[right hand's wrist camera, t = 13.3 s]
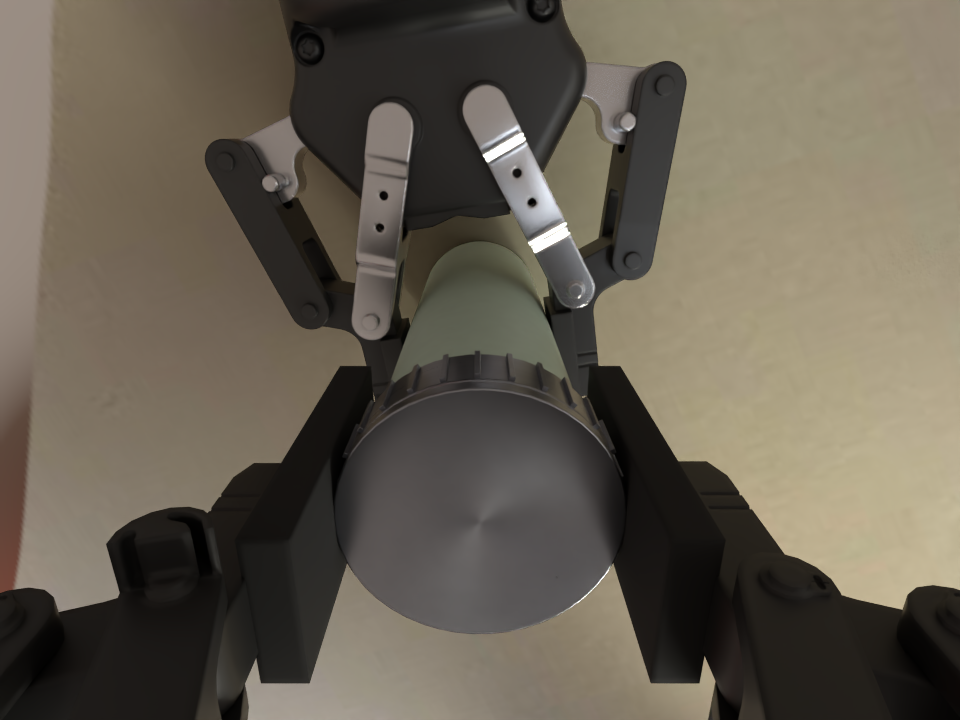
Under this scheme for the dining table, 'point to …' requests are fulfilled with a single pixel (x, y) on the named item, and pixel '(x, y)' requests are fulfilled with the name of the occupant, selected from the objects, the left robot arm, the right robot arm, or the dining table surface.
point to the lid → (480, 495)
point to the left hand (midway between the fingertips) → (492, 413)
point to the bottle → (480, 312)
